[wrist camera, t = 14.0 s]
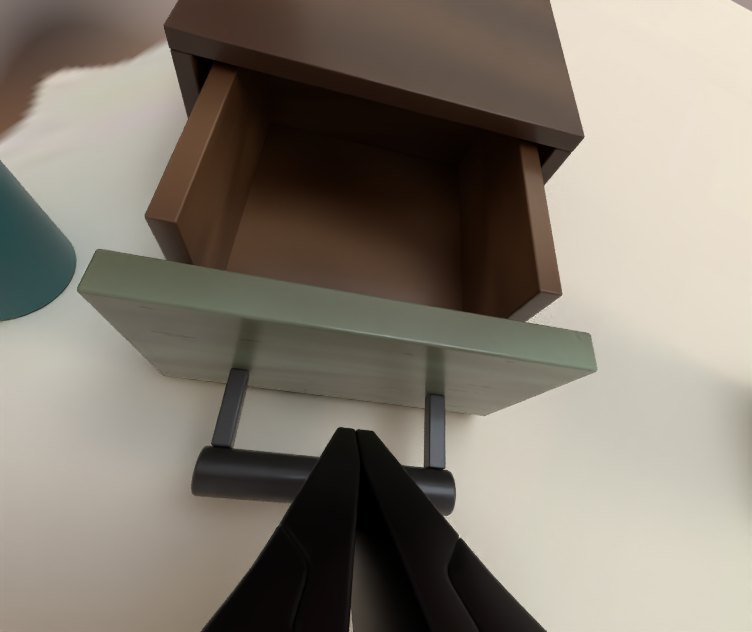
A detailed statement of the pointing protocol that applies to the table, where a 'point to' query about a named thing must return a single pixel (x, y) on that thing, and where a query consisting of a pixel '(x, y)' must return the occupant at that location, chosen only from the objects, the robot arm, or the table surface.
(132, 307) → the drawer
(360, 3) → the cabinet
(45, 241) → the tea tin
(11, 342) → the table surface
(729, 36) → the table surface
